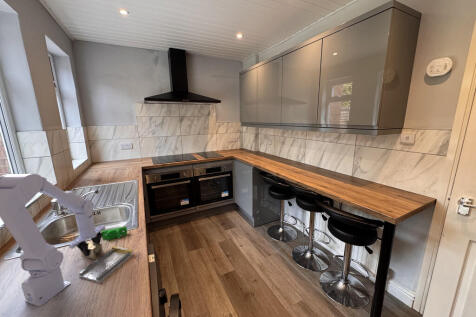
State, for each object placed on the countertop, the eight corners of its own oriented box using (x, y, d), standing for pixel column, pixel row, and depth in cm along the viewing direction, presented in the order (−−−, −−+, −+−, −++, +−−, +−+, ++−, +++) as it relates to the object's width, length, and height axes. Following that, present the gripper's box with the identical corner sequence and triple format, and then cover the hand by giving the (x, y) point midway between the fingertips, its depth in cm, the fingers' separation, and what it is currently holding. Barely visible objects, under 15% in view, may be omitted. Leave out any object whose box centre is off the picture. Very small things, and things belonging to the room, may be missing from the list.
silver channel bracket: (99, 283, 72) (98, 277, 71) (78, 277, 75) (77, 271, 75) (133, 254, 87) (132, 249, 86) (114, 250, 90) (113, 245, 90)
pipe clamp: (101, 243, 96) (99, 234, 95) (103, 238, 100) (101, 230, 99) (126, 237, 100) (124, 229, 99) (127, 233, 104) (126, 226, 103)
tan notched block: (103, 253, 88) (101, 243, 87) (94, 259, 85) (92, 249, 84) (90, 250, 91) (88, 241, 90) (81, 256, 87) (79, 246, 86)
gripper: (74, 236, 77) (81, 265, 79) (108, 218, 90) (113, 243, 93) (62, 233, 79) (69, 262, 81) (96, 216, 92) (102, 241, 95)
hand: (92, 252), depth 87 cm, fingers closed on tan notched block, 4 cm apart
